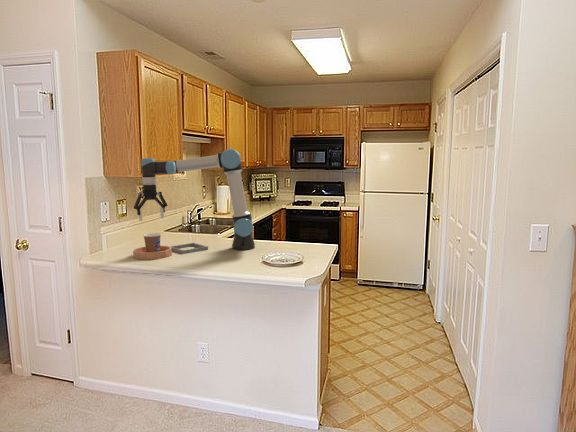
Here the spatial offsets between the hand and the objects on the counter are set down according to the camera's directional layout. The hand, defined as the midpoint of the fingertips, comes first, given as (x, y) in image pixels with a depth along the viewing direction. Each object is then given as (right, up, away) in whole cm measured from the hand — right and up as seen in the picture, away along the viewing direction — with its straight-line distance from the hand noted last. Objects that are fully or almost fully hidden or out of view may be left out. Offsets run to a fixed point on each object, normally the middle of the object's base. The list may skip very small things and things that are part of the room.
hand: (151, 219), depth 240 cm
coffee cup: (0, -21, +3) cm, 22 cm away
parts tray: (+17, -20, +19) cm, 33 cm away
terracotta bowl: (0, -22, +3) cm, 22 cm away
